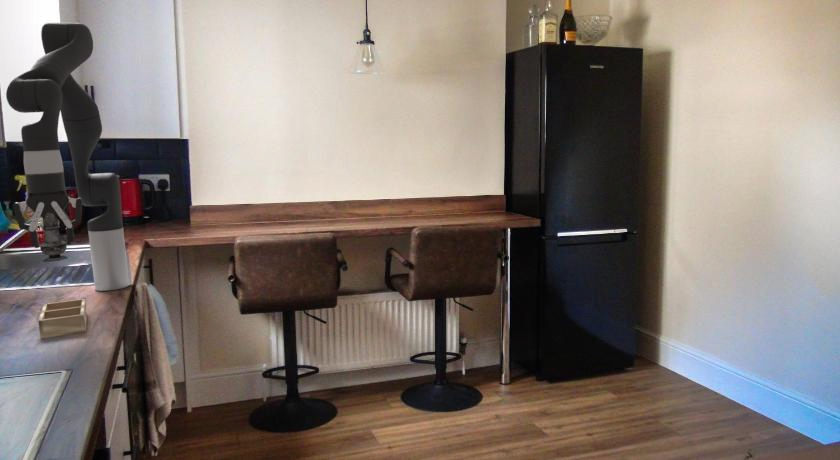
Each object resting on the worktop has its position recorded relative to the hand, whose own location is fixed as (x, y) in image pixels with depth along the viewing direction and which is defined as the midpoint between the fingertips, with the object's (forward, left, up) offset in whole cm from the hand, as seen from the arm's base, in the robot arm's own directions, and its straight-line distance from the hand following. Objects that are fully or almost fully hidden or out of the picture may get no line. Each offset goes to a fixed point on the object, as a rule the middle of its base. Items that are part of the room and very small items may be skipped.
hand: (53, 245), depth 154 cm
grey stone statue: (0, 0, -3) cm, 3 cm away
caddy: (-3, -3, -20) cm, 20 cm away
